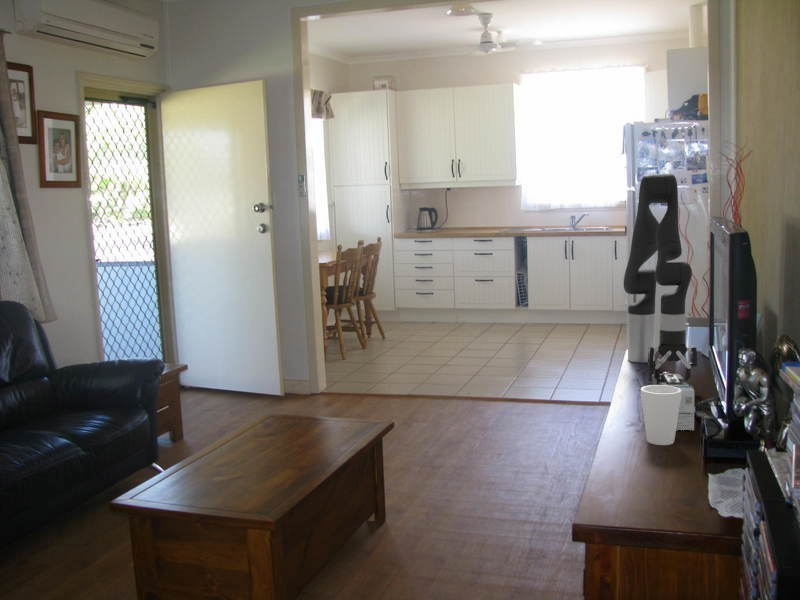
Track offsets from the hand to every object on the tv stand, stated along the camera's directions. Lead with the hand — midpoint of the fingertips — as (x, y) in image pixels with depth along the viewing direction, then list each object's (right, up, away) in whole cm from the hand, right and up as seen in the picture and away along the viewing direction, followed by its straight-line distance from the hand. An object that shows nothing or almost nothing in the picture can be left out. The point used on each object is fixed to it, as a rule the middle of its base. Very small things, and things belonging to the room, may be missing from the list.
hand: (671, 380), depth 251 cm
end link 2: (-1, -4, -6) cm, 7 cm away
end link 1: (+1, -2, +6) cm, 7 cm away
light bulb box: (-13, -9, -38) cm, 41 cm away
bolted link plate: (0, -3, +1) cm, 3 cm away
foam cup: (-19, -10, -49) cm, 54 cm away
